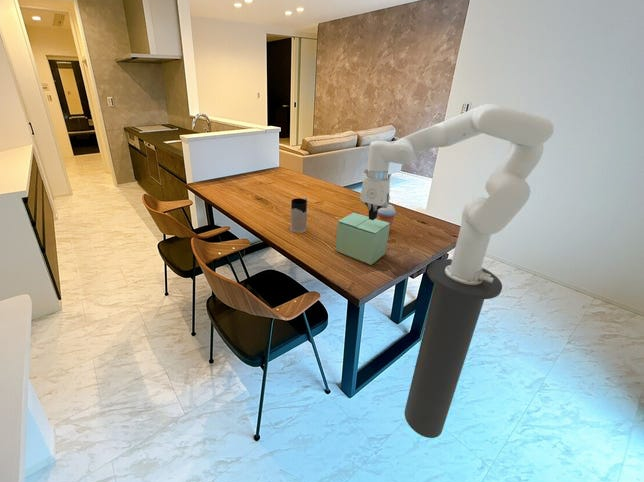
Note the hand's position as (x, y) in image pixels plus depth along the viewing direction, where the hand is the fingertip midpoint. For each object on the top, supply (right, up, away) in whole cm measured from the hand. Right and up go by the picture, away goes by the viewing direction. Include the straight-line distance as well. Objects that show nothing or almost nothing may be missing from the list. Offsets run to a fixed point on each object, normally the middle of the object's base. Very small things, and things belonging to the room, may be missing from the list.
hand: (372, 218), depth 119 cm
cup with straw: (+15, -6, +29) cm, 33 cm away
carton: (-2, -14, +8) cm, 17 cm away
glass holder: (-26, -5, +32) cm, 42 cm away
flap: (0, -3, 0) cm, 3 cm away
